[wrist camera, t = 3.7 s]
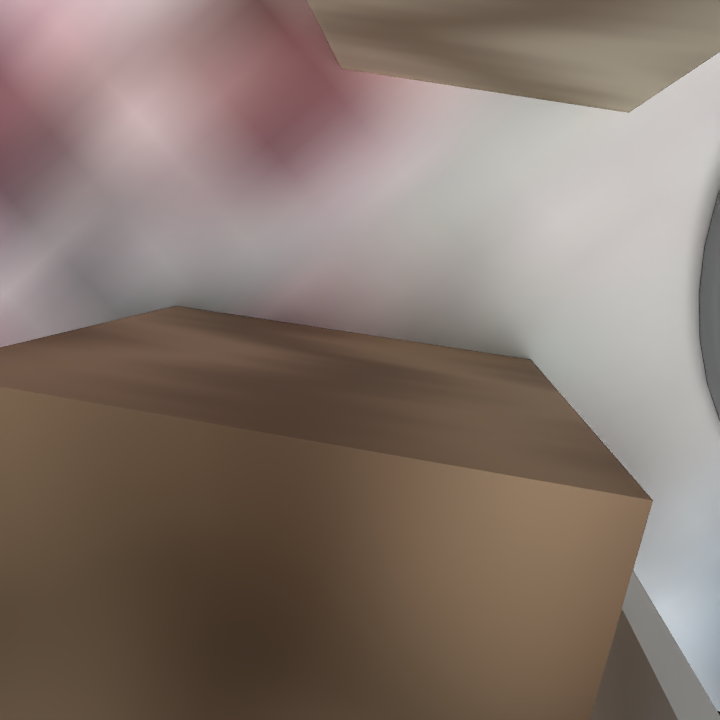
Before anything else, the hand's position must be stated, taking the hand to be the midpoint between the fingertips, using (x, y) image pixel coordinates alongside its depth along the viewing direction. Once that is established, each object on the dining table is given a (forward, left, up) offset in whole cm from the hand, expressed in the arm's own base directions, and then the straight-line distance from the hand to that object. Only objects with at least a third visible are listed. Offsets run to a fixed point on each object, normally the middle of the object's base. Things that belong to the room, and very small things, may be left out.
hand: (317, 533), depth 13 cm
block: (0, 0, -3) cm, 3 cm away
